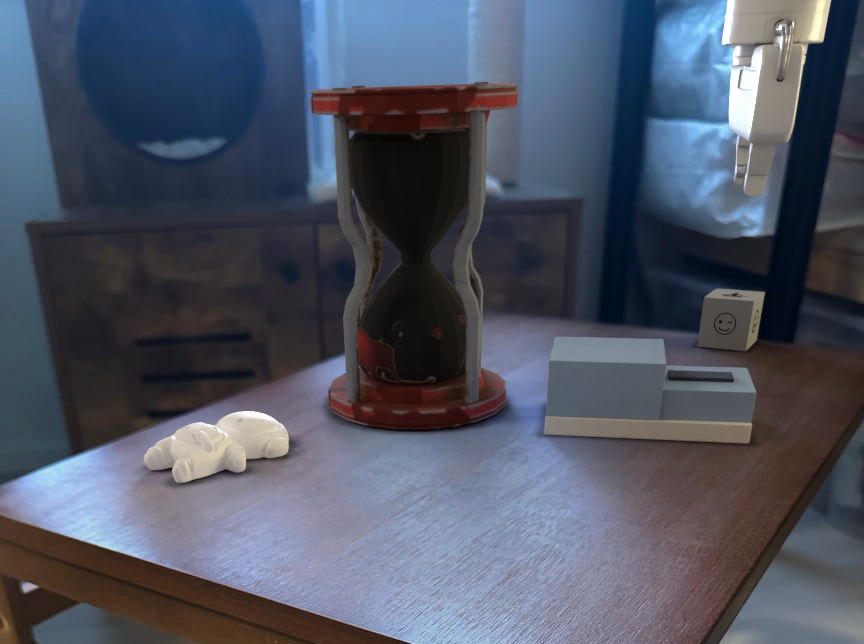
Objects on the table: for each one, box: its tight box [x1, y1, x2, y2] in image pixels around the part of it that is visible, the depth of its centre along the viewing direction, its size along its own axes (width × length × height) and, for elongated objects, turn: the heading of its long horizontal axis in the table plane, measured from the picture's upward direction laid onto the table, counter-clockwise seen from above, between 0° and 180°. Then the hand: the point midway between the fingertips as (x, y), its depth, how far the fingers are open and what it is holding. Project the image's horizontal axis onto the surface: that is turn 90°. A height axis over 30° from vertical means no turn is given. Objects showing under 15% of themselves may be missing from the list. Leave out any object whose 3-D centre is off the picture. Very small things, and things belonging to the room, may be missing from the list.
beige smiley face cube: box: [696, 288, 766, 352], centre depth 99 cm, size 5×5×5 cm
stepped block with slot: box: [543, 336, 758, 445], centre depth 78 cm, size 16×8×6 cm, turn 77°
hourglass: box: [309, 81, 519, 431], centre depth 79 cm, size 16×16×25 cm
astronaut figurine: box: [143, 410, 290, 484], centre depth 74 cm, size 9×12×3 cm
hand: (747, 189), depth 93 cm, fingers open, 8 cm apart
